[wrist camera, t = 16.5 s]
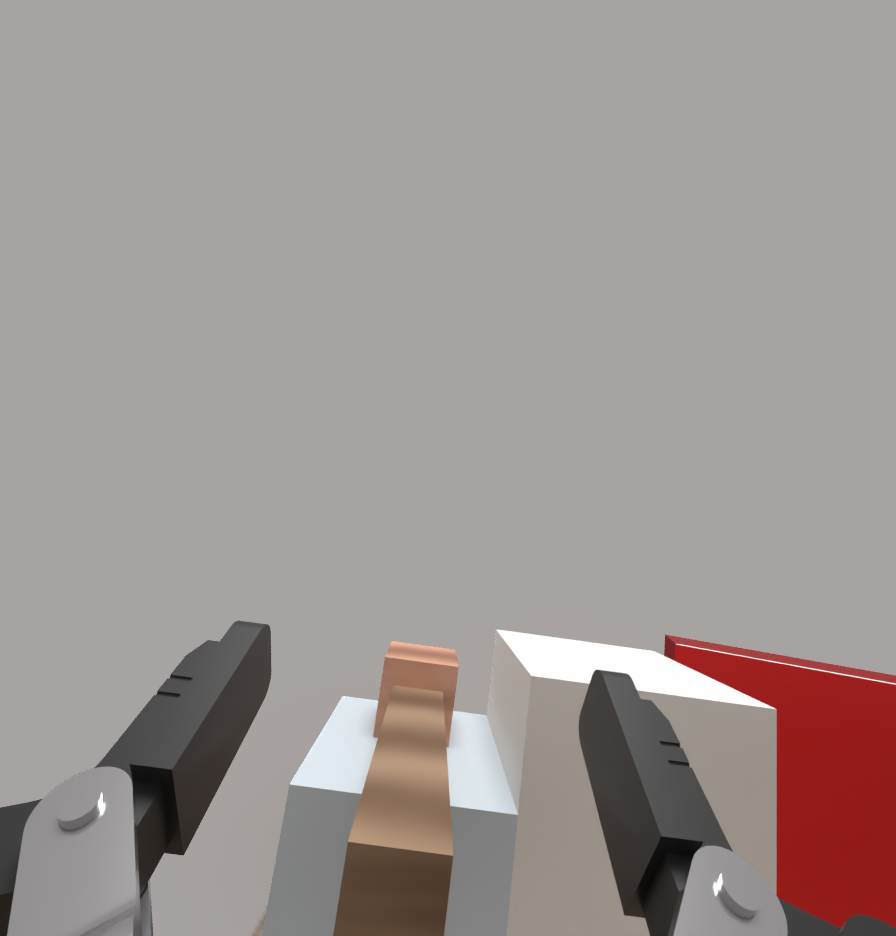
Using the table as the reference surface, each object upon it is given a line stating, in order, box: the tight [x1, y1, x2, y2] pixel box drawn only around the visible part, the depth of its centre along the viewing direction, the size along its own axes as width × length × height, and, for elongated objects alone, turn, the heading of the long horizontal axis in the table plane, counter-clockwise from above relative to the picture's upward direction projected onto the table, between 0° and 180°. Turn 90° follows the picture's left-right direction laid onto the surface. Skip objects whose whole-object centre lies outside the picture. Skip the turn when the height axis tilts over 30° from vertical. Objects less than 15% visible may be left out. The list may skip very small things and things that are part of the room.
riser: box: [262, 630, 777, 936], centre depth 33 cm, size 16×30×32 cm, turn 92°
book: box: [664, 635, 896, 929], centre depth 47 cm, size 27×8×32 cm, turn 72°
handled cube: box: [333, 641, 458, 936], centre depth 29 cm, size 25×6×6 cm, turn 2°
